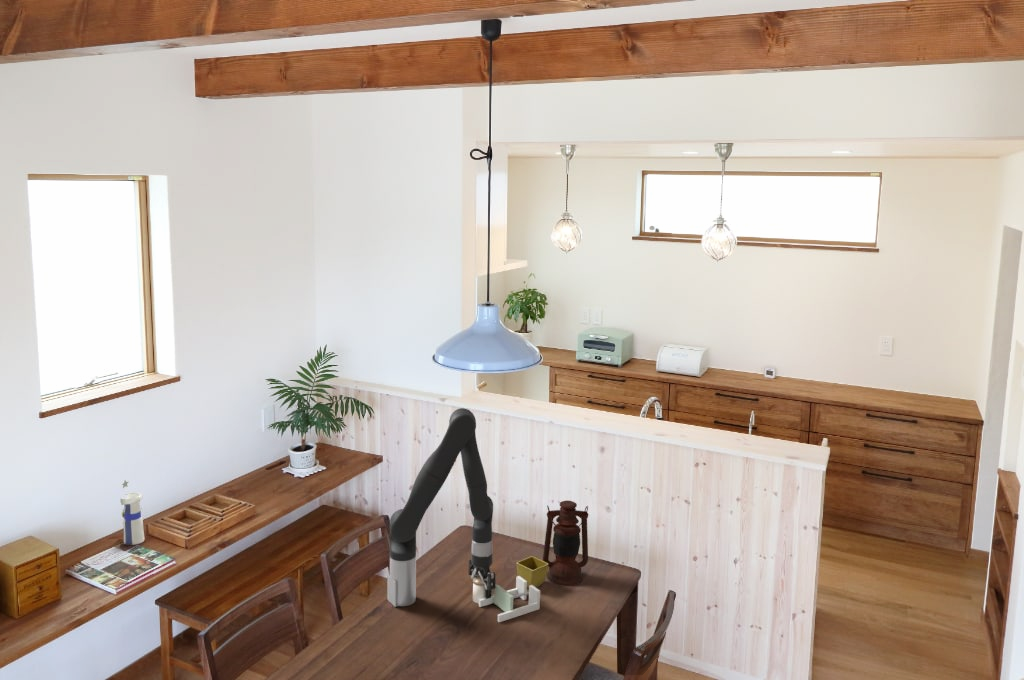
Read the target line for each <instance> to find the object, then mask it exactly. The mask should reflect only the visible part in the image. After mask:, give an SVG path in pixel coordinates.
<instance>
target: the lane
mask: <svg viewBox="0 0 1024 680" xmlns="http://www.w3.org/2000/svg"><path fill="white" fill-rule="evenodd" d="M515 577H516V578H515V588H512V589H508V590H506V591H507V592H508V593H510V594H511V595H512V596H514V595H517V594H520V593H523V592H526V591H529V594H527V595H528V604H526V605H522V606H520V607H517V608H513V610H510V611H507V612H505V611H503V612H501V613H498V614H497V622H498V623H502V622H504V621H508V620H510V619H513V618H517V617H519V616H523V615H526V614H528V613H532V612H535V611H538V610H541V609H540V605H541V603H540V602H541V590H540V589H539V588H538V587H534V586H533V585H530V586H529V588H528V587H527V581H526V580H524V579H523V578H521V577H520V576H518V575H517V576H515ZM527 589H528V590H527ZM527 595H523V596H520V597H519V598H520V599H521V600H523V601H525V600H527ZM493 601H494V594H491V598H488V599H486V598H482V599H479V603H478V607H479V608H481V607H486V606H488V605H491V604H494V603H493Z"/></svg>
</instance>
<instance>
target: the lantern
mask: <svg viewBox="0 0 1024 680" xmlns="http://www.w3.org/2000/svg"><path fill="white" fill-rule="evenodd" d="M577 505H578V504H577V503H576V502H575V501H572V500H562V501H560V502H559V509H556V510H554V509H553V510H550V506H549V505H547V506H546V507H547V513H546V516H547V519H546V522H547V523H546V530H545V536H544V546H543V553H542V561H544V562H546V563H548V564H549V565H548V570H547V575H546V578H547V580H548V581H550V582H551V583H553V584H555V585H559V586H565V587H566V586H569V587H570V586H575V585H578V584H579V583H581V582H583V579H584V576H583V573H582V568H584V567H585V566H586V565H588V562H589V547H588V546H589V544H588V542H589V541H588V540H589V539H588V536H589V535H588V518H589V513H588V510H589V506H588V505H586V506H585V508H584V510H577V509H576V508H577ZM577 517H579V518H580V519H581V522H580V524H579V519H578V518H577ZM555 518H556V519H555ZM554 519H555V521H556V523H555V522H554ZM552 532H553V533H554V534H553V533H552ZM552 534H553V538H552ZM580 534H581V535H580ZM551 539H552V540H551ZM551 542H552V548H553V554H554V557H555V559H553V560H552V561H550V559H549V557H550V549H551ZM580 547H581V550H582V554H581V555H582V556H581V557H582V559H581V561H580V562H579V561H577V556H578V555H579V552H580Z"/></svg>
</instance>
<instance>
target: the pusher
mask: <svg viewBox="0 0 1024 680" xmlns="http://www.w3.org/2000/svg"><path fill="white" fill-rule="evenodd" d="M507 591H508V590H506V589H505V588H503V587H502V586H500V585H499V584H497V583H496V588H495V589H493V595H494V601H493V603H492V604H494V605H496V606H497V607H498V608H499V609H500V610H502V611H503V612H507V611H510V610H513V609H514V599H517V598H520V596H523V595H529V590H527V591H526V592H523V593H520V594H517V595H514V596H512V595H511V594H510V593H508V592H507Z"/></svg>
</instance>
